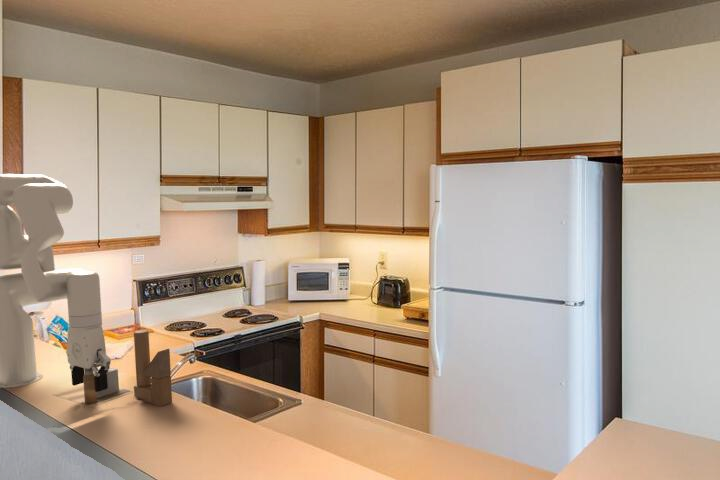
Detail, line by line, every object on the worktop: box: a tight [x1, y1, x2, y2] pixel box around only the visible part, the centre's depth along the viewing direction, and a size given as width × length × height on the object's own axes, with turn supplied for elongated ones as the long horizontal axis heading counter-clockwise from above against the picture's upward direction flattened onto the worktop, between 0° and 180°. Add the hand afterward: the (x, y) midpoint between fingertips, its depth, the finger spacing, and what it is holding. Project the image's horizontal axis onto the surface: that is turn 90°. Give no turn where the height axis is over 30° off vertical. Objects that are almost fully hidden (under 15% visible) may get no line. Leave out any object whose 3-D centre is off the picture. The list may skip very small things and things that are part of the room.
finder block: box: [93, 367, 120, 396], centre depth 155 cm, size 5×6×6 cm
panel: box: [52, 384, 134, 408], centre depth 154 cm, size 18×12×1 cm, turn 57°
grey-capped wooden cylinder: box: [83, 367, 97, 404], centre depth 147 cm, size 3×3×9 cm
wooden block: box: [133, 329, 173, 407], centre depth 149 cm, size 4×11×18 cm, turn 58°
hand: (89, 387), depth 147 cm, fingers open, 9 cm apart
